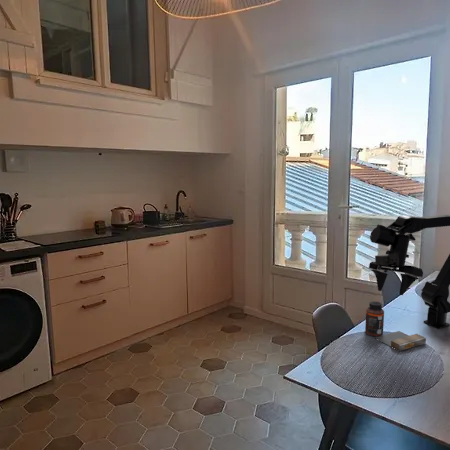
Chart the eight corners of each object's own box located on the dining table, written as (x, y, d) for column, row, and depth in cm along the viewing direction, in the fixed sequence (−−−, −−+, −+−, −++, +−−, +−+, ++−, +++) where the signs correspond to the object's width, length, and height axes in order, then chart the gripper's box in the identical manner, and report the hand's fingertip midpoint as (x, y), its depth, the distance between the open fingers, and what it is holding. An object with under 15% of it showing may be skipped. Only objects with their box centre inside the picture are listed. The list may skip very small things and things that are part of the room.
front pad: (399, 331, 135) (399, 330, 135) (416, 339, 129) (416, 338, 129) (374, 338, 130) (374, 337, 130) (390, 347, 124) (390, 346, 124)
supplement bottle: (384, 337, 131) (386, 306, 129) (366, 336, 132) (368, 305, 130) (381, 330, 136) (382, 300, 135) (363, 329, 138) (365, 299, 136)
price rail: (416, 339, 129) (416, 333, 129) (426, 344, 125) (426, 338, 125) (390, 347, 124) (391, 340, 124) (400, 352, 120) (401, 345, 120)
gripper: (362, 243, 139) (353, 284, 138) (405, 245, 123) (396, 292, 121) (383, 250, 144) (375, 290, 142) (427, 253, 127) (419, 299, 125)
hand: (389, 292), depth 132 cm, fingers open, 9 cm apart
